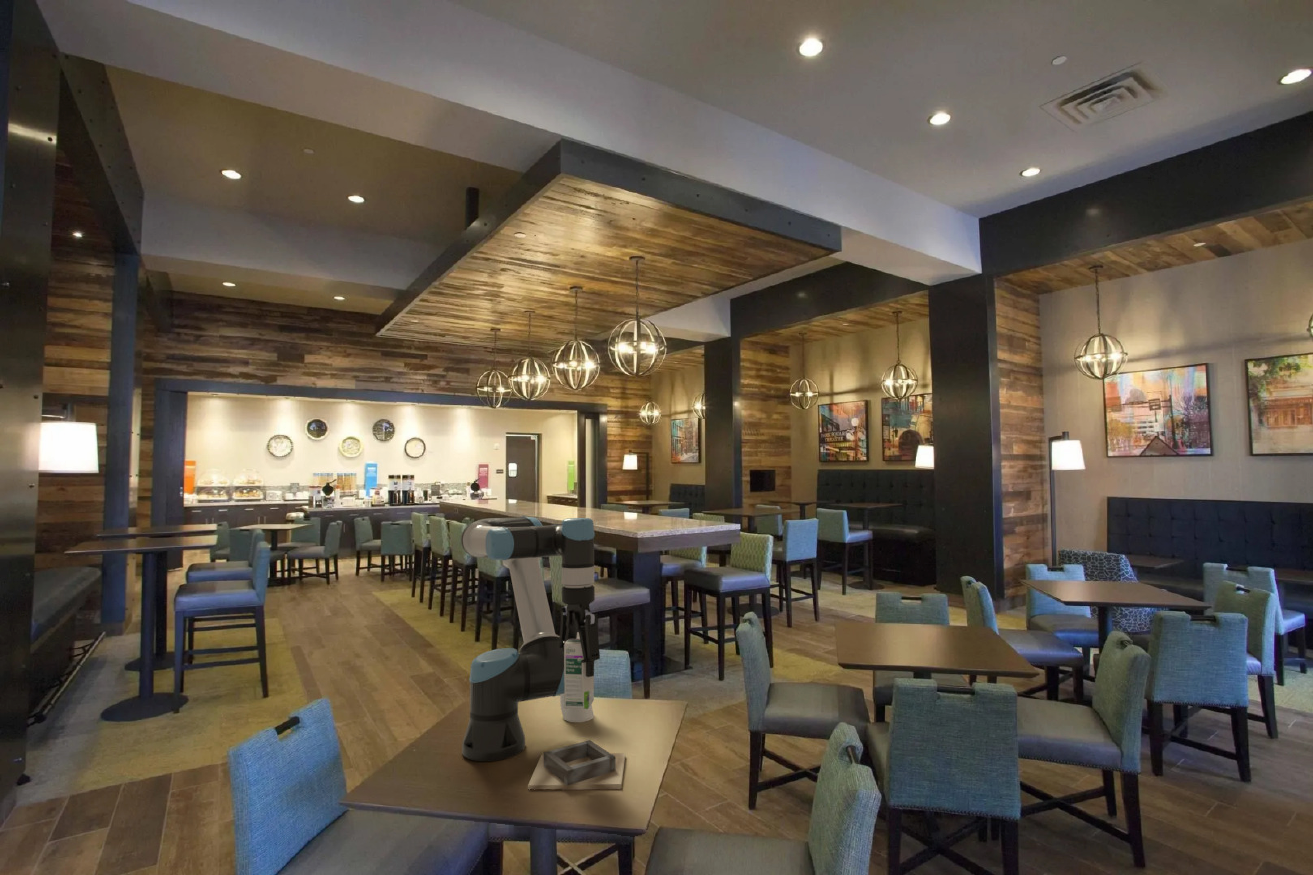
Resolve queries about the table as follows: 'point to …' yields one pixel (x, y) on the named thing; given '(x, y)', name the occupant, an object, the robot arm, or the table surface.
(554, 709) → the table surface
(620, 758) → the socket board
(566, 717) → the spray can
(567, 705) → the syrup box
